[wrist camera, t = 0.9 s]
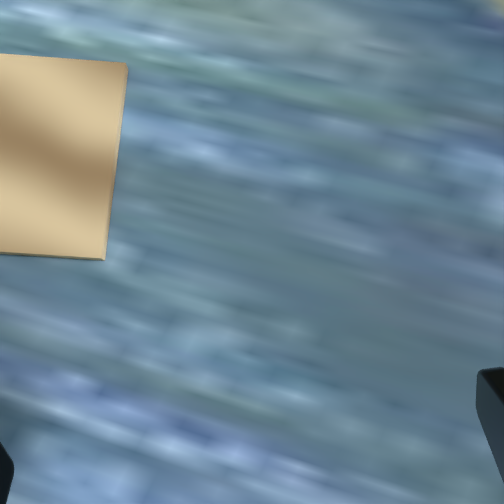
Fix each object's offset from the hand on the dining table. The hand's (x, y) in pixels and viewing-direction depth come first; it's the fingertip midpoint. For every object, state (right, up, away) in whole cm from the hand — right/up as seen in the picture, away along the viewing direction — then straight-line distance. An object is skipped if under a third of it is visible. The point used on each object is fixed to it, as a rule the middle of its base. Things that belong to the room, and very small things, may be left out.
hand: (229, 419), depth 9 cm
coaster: (-11, +8, +15) cm, 20 cm away
